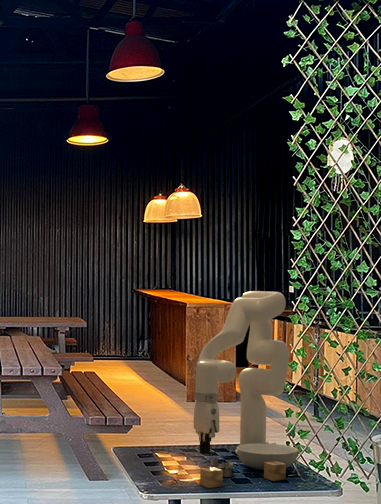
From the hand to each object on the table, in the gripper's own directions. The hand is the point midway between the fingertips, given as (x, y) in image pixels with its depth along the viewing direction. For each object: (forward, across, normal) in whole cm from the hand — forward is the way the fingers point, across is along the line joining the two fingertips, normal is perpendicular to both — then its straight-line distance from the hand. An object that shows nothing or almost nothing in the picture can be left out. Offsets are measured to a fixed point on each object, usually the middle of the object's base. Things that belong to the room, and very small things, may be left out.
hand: (204, 452), depth 286 cm
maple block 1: (+5, -23, +12) cm, 26 cm away
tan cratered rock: (+5, -10, 0) cm, 12 cm away
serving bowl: (+5, -9, -19) cm, 22 cm away
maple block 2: (+5, -23, -12) cm, 27 cm away
